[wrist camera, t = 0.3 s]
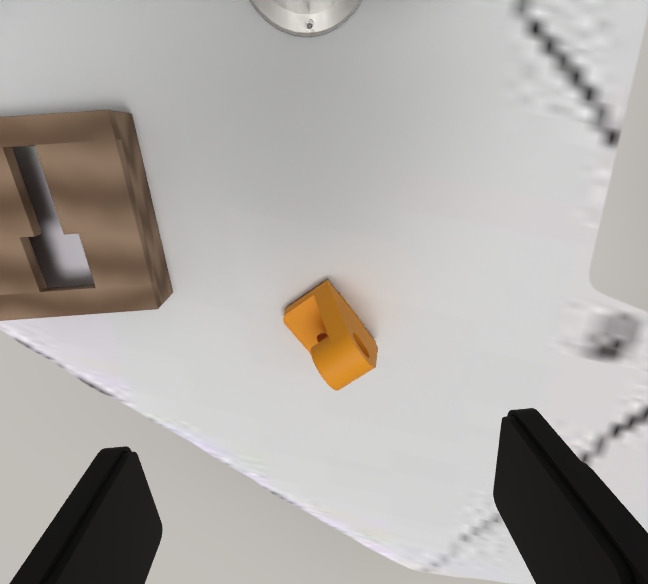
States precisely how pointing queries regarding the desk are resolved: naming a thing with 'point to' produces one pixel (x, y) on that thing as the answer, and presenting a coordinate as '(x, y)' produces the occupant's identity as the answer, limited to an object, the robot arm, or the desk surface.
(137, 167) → the keyhole board
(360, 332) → the bracket
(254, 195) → the desk surface
